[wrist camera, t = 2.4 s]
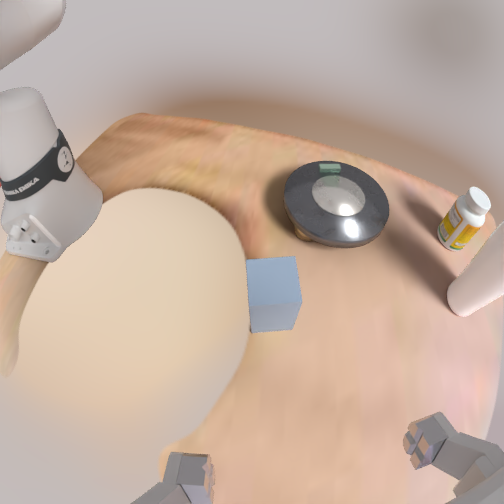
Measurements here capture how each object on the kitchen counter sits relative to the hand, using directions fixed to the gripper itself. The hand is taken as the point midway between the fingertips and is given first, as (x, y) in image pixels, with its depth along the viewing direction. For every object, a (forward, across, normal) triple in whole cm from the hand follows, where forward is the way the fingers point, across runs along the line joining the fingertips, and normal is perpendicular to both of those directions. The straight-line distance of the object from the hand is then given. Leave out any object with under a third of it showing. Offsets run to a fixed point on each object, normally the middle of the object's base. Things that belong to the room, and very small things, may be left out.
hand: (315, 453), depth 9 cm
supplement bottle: (+28, -29, -2) cm, 40 cm away
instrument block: (+22, 0, +4) cm, 22 cm away
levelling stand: (+31, -10, -6) cm, 33 cm away
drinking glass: (+21, -26, +5) cm, 33 cm away
